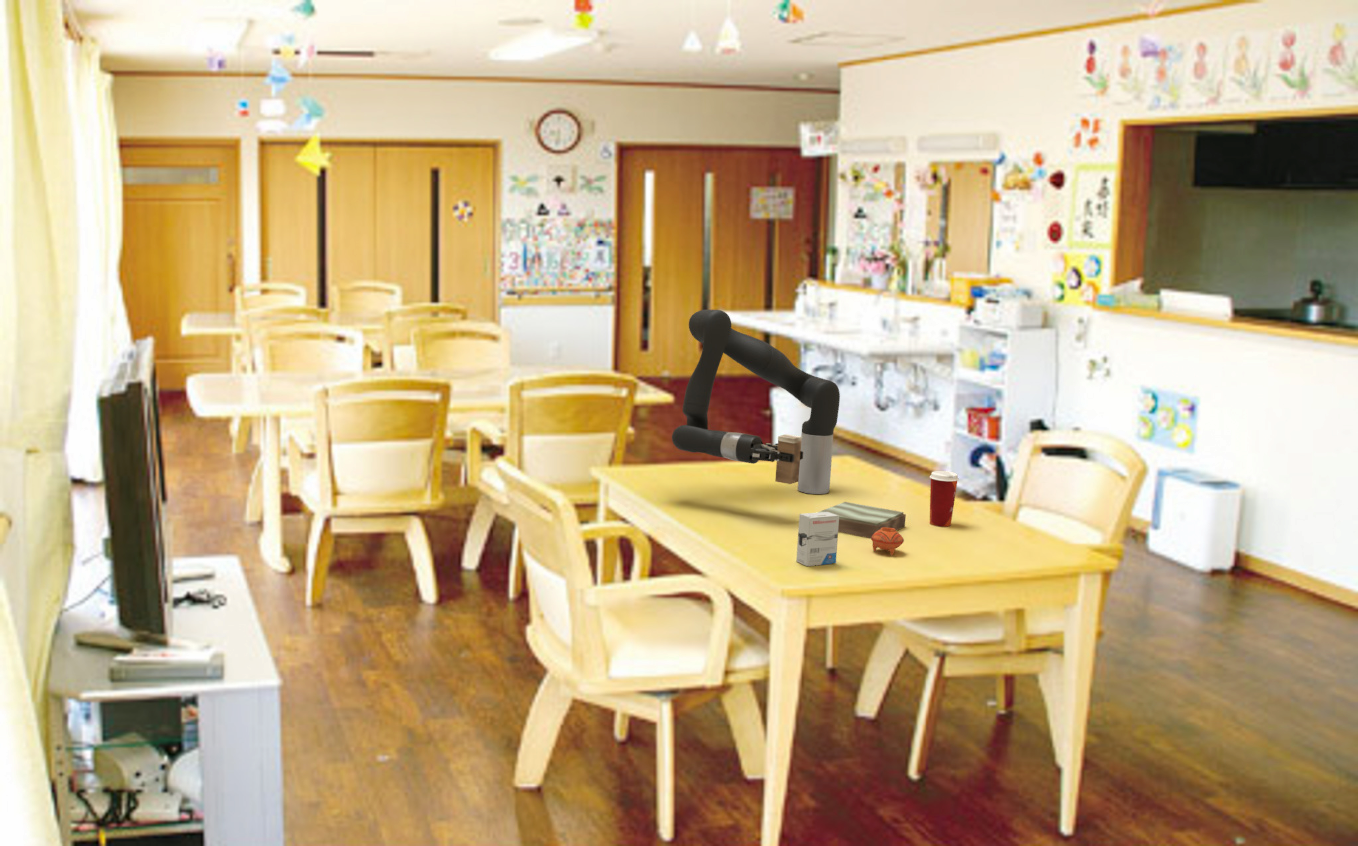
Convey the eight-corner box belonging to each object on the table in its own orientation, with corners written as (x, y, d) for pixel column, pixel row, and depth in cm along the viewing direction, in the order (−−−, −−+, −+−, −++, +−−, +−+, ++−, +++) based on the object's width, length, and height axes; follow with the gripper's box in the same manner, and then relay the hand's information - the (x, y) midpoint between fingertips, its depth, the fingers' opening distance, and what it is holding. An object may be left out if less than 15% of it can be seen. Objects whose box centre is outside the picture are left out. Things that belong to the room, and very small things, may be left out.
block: (783, 478, 370) (786, 434, 368) (798, 481, 368) (801, 436, 365) (775, 481, 366) (778, 436, 364) (790, 484, 364) (793, 438, 362)
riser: (843, 515, 379) (844, 501, 378) (904, 526, 369) (905, 512, 369) (813, 527, 364) (814, 512, 363) (877, 539, 354) (878, 524, 354)
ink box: (825, 558, 333) (828, 510, 331) (836, 563, 329) (840, 515, 327) (795, 561, 329) (798, 512, 327) (806, 566, 325) (810, 517, 323)
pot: (870, 554, 338) (871, 526, 339) (870, 554, 346) (871, 526, 346) (904, 556, 337) (905, 528, 338) (902, 555, 345) (903, 528, 345)
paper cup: (960, 527, 373) (964, 475, 370) (935, 528, 370) (940, 476, 367) (944, 520, 380) (948, 469, 377) (920, 521, 377) (924, 470, 375)
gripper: (728, 437, 366) (786, 446, 357) (755, 430, 378) (811, 439, 369) (727, 465, 368) (784, 475, 359) (753, 457, 380) (809, 467, 371)
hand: (797, 456), depth 364 cm, fingers closed on block, 4 cm apart
